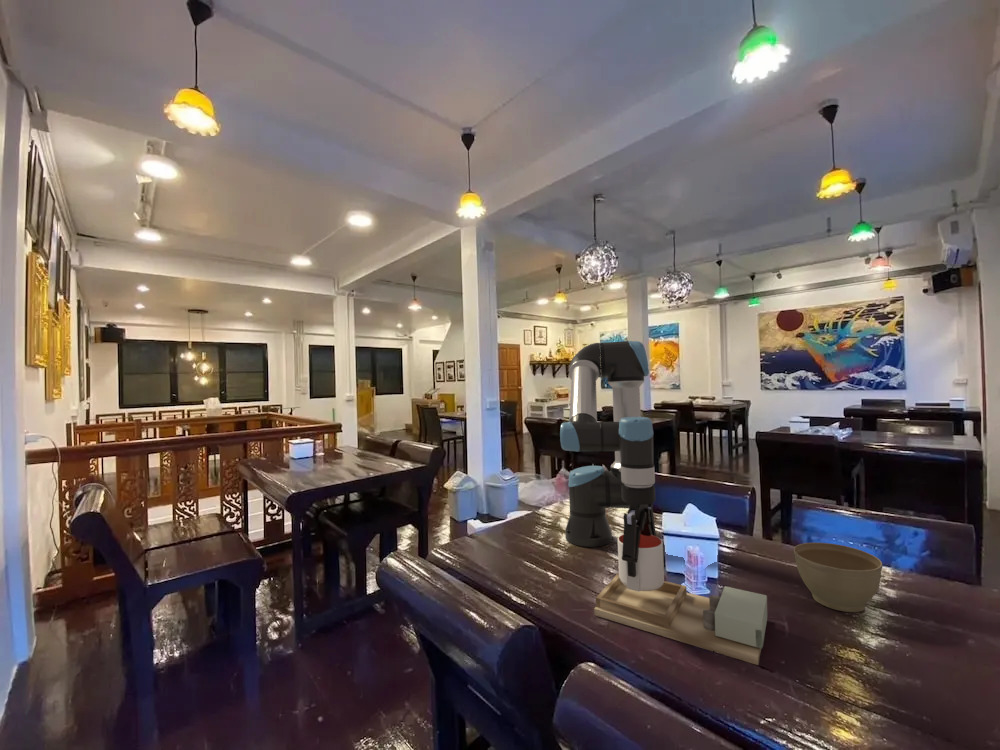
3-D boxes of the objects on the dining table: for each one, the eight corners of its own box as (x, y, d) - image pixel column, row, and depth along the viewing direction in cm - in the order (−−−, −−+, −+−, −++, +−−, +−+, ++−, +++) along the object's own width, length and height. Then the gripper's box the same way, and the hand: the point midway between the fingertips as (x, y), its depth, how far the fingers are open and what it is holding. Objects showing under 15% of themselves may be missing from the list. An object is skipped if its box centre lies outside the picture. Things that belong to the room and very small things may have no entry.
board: (622, 582, 113) (621, 565, 113) (766, 618, 95) (765, 597, 95) (594, 615, 99) (593, 595, 99) (758, 665, 80) (757, 640, 80)
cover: (725, 605, 97) (724, 586, 97) (767, 616, 93) (766, 595, 93) (715, 635, 87) (714, 613, 87) (762, 648, 82) (761, 625, 82)
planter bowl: (863, 589, 105) (862, 544, 105) (900, 627, 90) (897, 574, 90) (786, 582, 111) (785, 539, 111) (808, 615, 95) (806, 566, 95)
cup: (667, 595, 95) (666, 549, 95) (620, 592, 97) (619, 547, 97) (660, 574, 105) (659, 533, 105) (617, 572, 107) (616, 531, 107)
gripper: (637, 472, 113) (640, 559, 113) (603, 493, 94) (607, 596, 94) (667, 475, 108) (670, 565, 108) (638, 498, 90) (642, 606, 90)
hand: (641, 579), depth 101 cm, fingers closed on cup, 10 cm apart
